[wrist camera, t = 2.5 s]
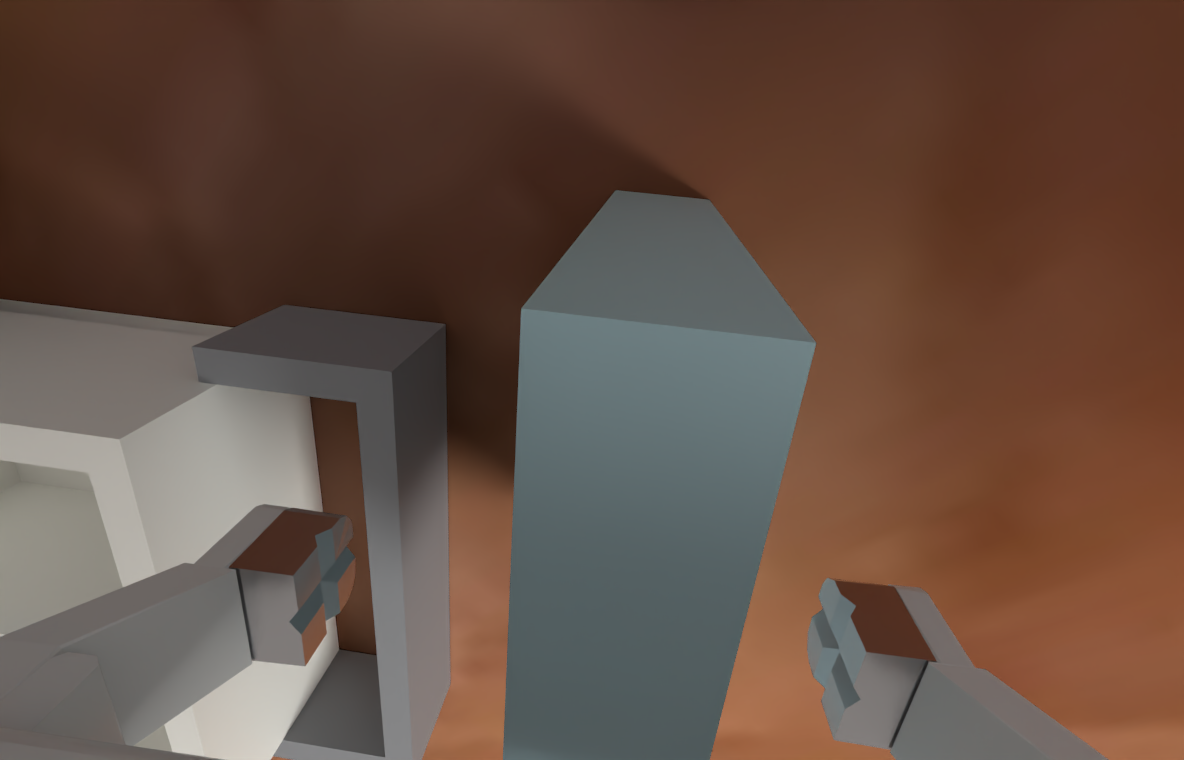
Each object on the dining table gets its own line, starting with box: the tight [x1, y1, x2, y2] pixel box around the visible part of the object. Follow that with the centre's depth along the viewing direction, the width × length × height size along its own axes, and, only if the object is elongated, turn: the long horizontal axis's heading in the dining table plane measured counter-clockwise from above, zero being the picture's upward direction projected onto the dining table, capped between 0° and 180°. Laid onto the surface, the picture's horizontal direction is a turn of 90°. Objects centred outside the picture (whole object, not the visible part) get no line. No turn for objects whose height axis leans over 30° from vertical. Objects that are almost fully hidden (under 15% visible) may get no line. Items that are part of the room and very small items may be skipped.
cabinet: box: [0, 299, 450, 760], centre depth 19 cm, size 17×16×7 cm
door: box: [503, 190, 816, 760], centre depth 13 cm, size 3×11×12 cm, turn 175°
